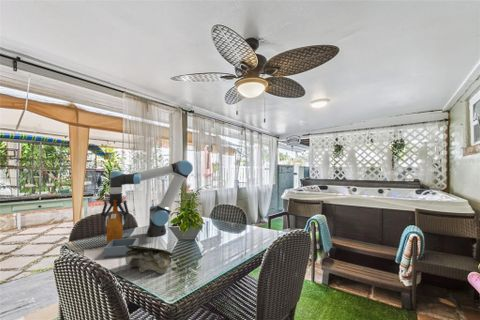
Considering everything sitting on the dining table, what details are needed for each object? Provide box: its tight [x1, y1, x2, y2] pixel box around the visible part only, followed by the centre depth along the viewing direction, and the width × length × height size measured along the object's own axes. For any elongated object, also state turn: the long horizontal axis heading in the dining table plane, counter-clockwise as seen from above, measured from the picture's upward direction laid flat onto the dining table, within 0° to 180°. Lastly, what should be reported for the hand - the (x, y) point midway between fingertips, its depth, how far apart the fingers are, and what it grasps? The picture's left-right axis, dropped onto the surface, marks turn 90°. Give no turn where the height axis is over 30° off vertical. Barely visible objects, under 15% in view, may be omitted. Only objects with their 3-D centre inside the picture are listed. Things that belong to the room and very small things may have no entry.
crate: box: [103, 237, 139, 259], centre depth 136 cm, size 16×16×6 cm
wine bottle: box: [106, 199, 124, 244], centre depth 150 cm, size 10×10×30 cm
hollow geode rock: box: [124, 245, 176, 275], centre depth 113 cm, size 28×13×15 cm
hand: (115, 225), depth 150 cm, fingers closed on wine bottle, 9 cm apart
